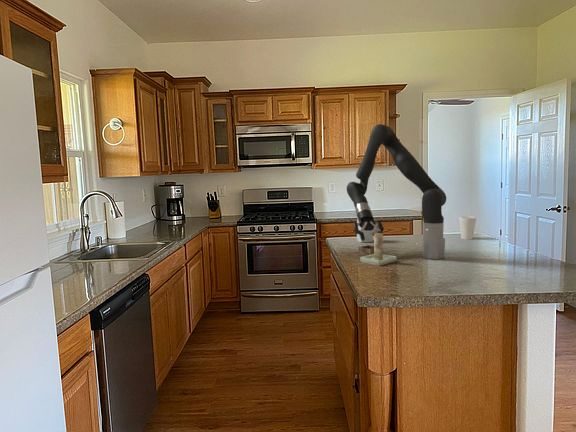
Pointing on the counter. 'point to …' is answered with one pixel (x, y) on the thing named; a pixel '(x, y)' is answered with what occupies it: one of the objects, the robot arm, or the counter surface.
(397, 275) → the counter surface
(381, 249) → the dowel
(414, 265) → the counter surface
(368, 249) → the box
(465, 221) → the foam cup
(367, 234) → the skincare box
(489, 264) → the counter surface
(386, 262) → the tray
